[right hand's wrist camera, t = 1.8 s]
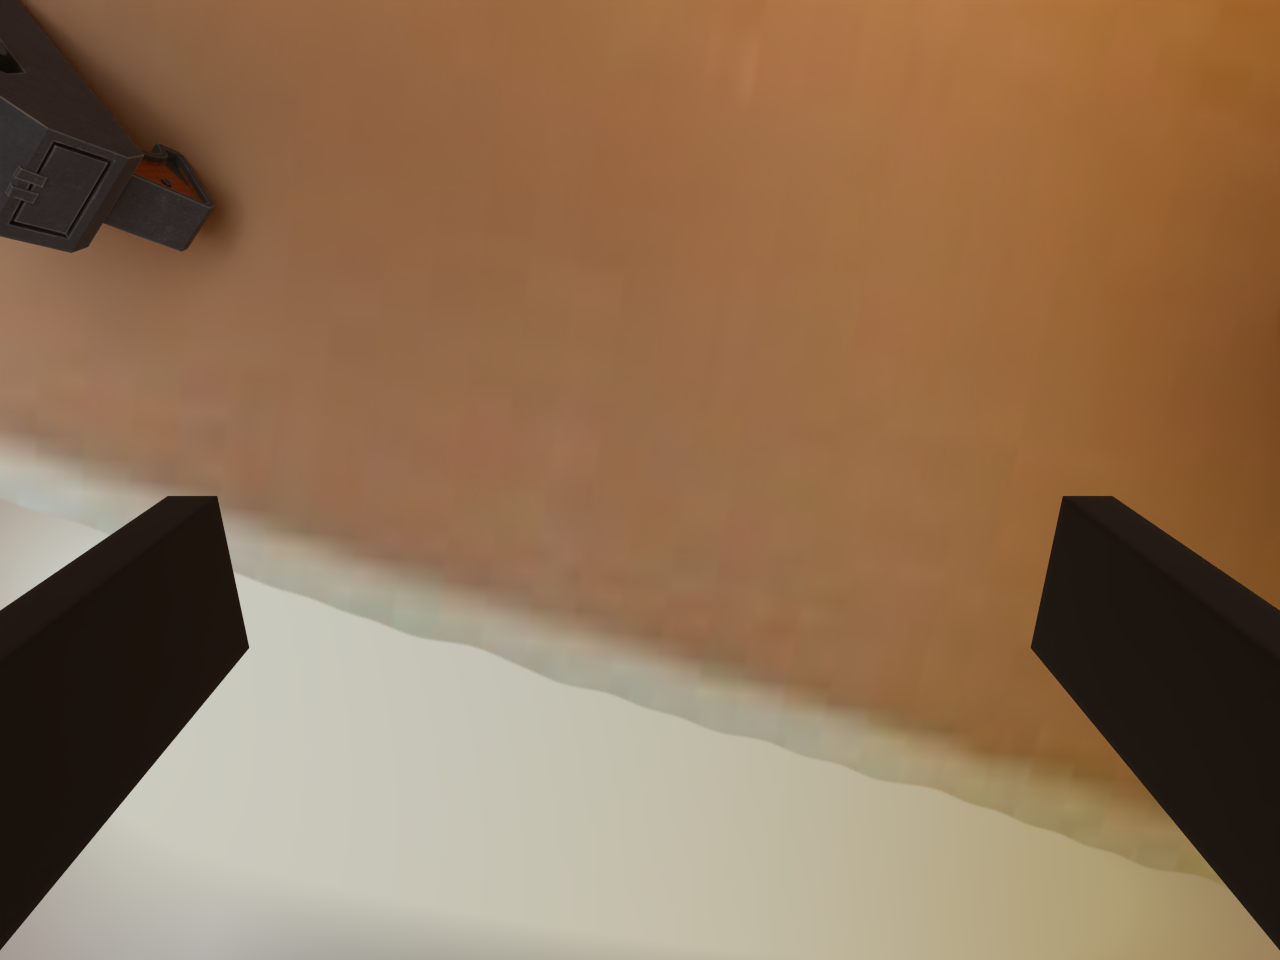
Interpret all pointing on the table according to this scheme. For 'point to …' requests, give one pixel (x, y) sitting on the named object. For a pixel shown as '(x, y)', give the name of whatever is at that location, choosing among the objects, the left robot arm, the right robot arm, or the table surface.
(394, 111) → the table surface
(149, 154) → the tool
